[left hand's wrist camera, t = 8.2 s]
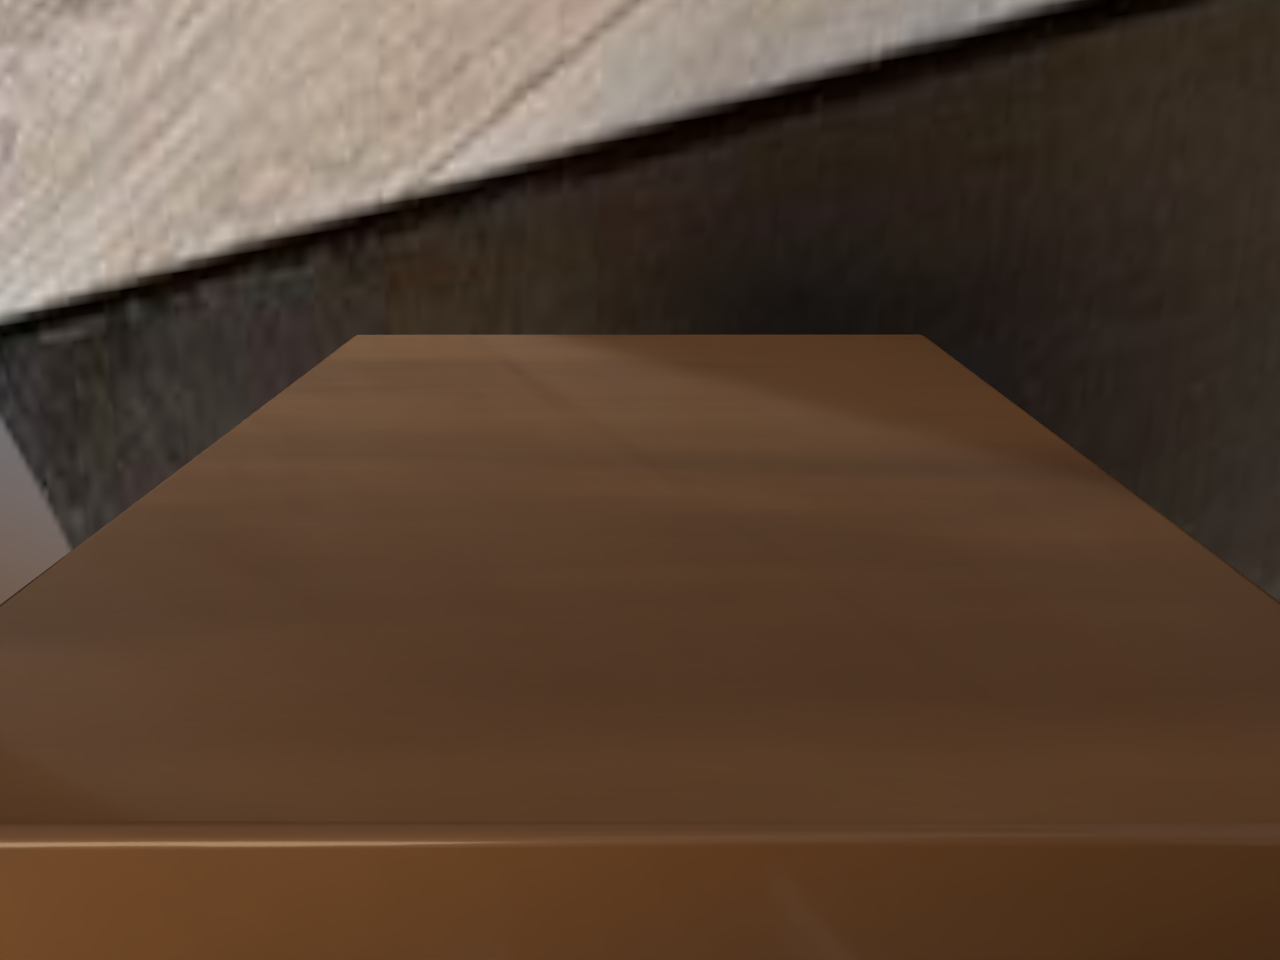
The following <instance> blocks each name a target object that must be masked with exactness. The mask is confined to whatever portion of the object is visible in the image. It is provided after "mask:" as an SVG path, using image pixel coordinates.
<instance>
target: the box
mask: <svg viewBox="0 0 1280 960" xmlns="http://www.w3.org/2000/svg"><path fill="white" fill-rule="evenodd" d="M0 960H1280V602H1279V601H1277V600H1276V599H1275V598H1273V597H1272V596H1271V595H1269V594H1268V593H1267V592H1265V591H1264V590H1263V589H1261V588H1260V587H1259V586H1257V585H1256V584H1255V583H1253V582H1252V581H1251V580H1249V579H1248V578H1247V577H1245V576H1244V575H1243V574H1241V573H1240V572H1239V571H1237V570H1236V569H1235V568H1233V567H1232V566H1231V565H1229V564H1228V563H1227V562H1225V561H1224V560H1223V559H1221V558H1220V557H1218V556H1217V555H1216V554H1214V553H1213V552H1212V551H1210V550H1209V549H1208V548H1206V547H1205V546H1204V545H1202V544H1201V543H1200V542H1198V541H1197V540H1196V539H1194V538H1193V537H1192V536H1190V535H1189V534H1188V533H1186V532H1185V531H1184V530H1182V529H1181V528H1180V527H1178V526H1177V525H1176V524H1174V523H1173V522H1172V521H1170V520H1169V519H1168V518H1166V517H1165V516H1164V515H1162V514H1161V513H1160V512H1158V511H1157V510H1156V509H1154V508H1153V507H1152V506H1150V505H1149V504H1148V503H1146V502H1145V501H1144V500H1142V499H1141V498H1140V497H1138V496H1137V495H1136V494H1134V493H1133V492H1132V491H1130V490H1129V489H1128V488H1126V487H1125V486H1124V485H1122V484H1121V483H1120V482H1118V481H1117V480H1116V479H1114V478H1113V477H1112V476H1110V475H1109V474H1108V473H1106V472H1105V471H1104V470H1102V469H1101V468H1100V467H1098V466H1097V465H1096V464H1094V463H1093V462H1092V461H1090V460H1089V459H1088V458H1086V457H1085V456H1084V455H1082V454H1081V453H1080V452H1078V451H1077V450H1076V449H1074V448H1073V447H1072V446H1070V445H1069V444H1068V443H1066V442H1065V441H1064V440H1062V439H1061V438H1060V437H1058V436H1057V435H1056V434H1054V433H1053V432H1052V431H1050V430H1049V429H1048V428H1046V427H1045V426H1044V425H1042V424H1041V423H1040V422H1038V421H1037V420H1036V419H1034V418H1033V417H1032V416H1030V415H1029V414H1028V413H1026V412H1025V411H1024V410H1022V409H1021V408H1019V407H1018V406H1017V405H1015V404H1014V403H1013V402H1011V401H1010V400H1009V399H1007V398H1006V397H1005V396H1003V395H1002V394H1001V393H999V392H998V391H997V390H995V389H994V388H993V387H991V386H990V385H989V384H987V383H986V382H985V381H983V380H982V379H981V378H979V377H978V376H977V375H975V374H974V373H973V372H971V371H970V370H969V369H967V368H966V367H965V366H963V365H962V364H961V363H959V362H958V361H957V360H955V359H954V358H953V357H951V356H950V355H949V354H947V353H946V352H945V351H943V350H942V349H941V348H939V347H938V346H937V345H935V344H934V343H933V342H931V341H930V340H929V339H927V338H926V337H925V336H923V335H357V336H355V337H353V338H352V339H350V340H349V341H348V342H346V343H345V344H344V345H342V346H341V347H340V348H338V349H337V350H336V351H335V352H333V353H332V354H331V355H329V356H328V357H327V358H325V359H324V360H323V361H321V362H320V363H319V364H317V365H316V366H315V367H313V368H312V369H311V370H309V371H308V372H307V373H305V374H304V375H303V376H302V377H300V378H299V379H298V380H296V381H295V382H294V383H292V384H291V385H290V386H288V387H287V388H286V389H284V390H283V391H282V392H280V393H279V394H278V395H276V396H275V397H274V398H273V399H271V400H270V401H269V402H267V403H266V404H265V405H263V406H262V407H261V408H259V409H258V410H257V411H255V412H254V413H253V414H251V415H250V416H249V417H247V418H246V419H245V420H243V421H242V422H241V423H240V424H238V425H237V426H236V427H234V428H233V429H232V430H230V431H229V432H228V433H226V434H225V435H224V436H222V437H221V438H220V439H218V440H217V441H216V442H214V443H213V444H212V445H211V446H209V447H208V448H207V449H205V450H204V451H203V452H201V453H200V454H199V455H197V456H196V457H195V458H193V459H192V460H191V461H189V462H188V463H187V464H185V465H184V466H183V467H182V468H180V469H179V470H178V471H176V472H175V473H174V474H172V475H171V476H170V477H168V478H167V479H166V480H164V481H163V482H162V483H160V484H159V485H158V486H156V487H155V488H154V489H152V490H151V491H150V492H149V493H147V494H146V495H145V496H143V497H142V498H141V499H139V500H138V501H137V502H135V503H134V504H133V505H131V506H130V507H129V508H127V509H126V510H125V511H123V512H122V513H121V514H120V515H118V516H117V517H116V518H114V519H113V520H112V521H110V522H109V523H108V524H106V525H105V526H104V527H102V528H101V529H100V530H98V531H97V532H96V533H94V534H93V535H92V536H90V537H89V538H88V539H87V540H85V541H84V542H83V543H81V544H80V545H79V546H77V547H76V548H75V549H73V550H72V551H71V552H69V553H68V554H67V555H65V556H64V557H63V558H62V559H60V560H59V561H58V562H56V563H55V564H54V565H52V566H51V567H50V568H48V569H47V570H46V571H44V572H43V573H42V574H40V575H39V576H38V577H36V578H35V579H34V580H32V581H31V582H30V583H29V584H27V585H26V586H25V587H23V588H22V589H21V590H19V591H18V592H17V593H15V594H14V595H13V596H11V597H10V598H9V599H7V600H6V601H5V602H3V603H2V604H1V605H0Z"/></svg>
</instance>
